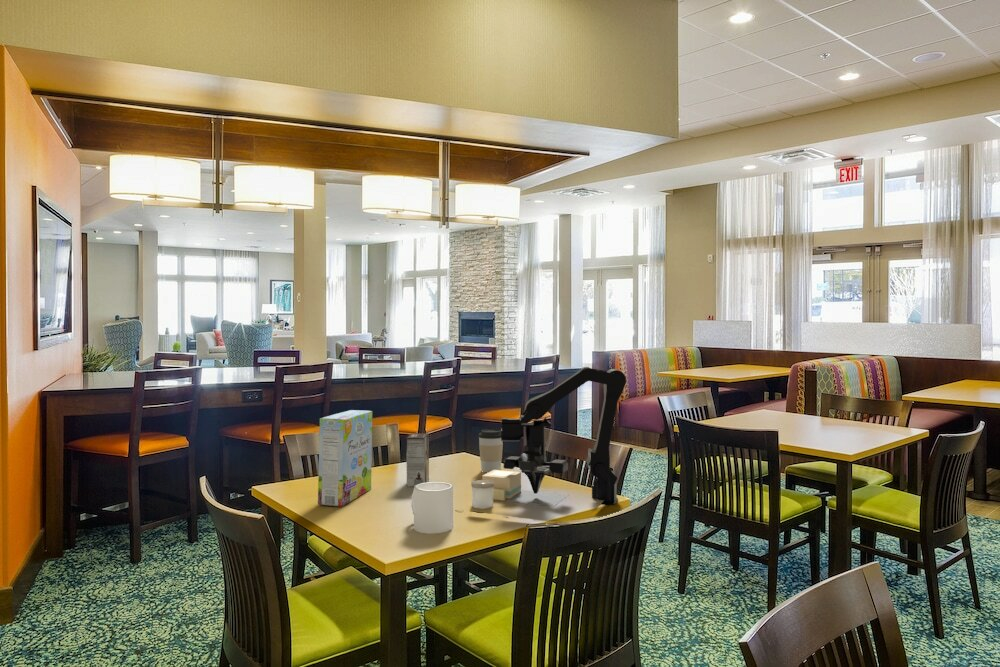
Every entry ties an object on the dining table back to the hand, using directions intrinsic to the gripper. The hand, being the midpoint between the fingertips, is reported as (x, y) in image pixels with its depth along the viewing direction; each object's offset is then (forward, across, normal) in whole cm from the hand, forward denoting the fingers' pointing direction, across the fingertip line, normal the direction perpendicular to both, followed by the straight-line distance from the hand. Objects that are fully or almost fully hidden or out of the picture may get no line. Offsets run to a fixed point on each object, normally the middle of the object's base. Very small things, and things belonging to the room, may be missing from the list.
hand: (535, 493), depth 196 cm
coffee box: (+2, -44, +6) cm, 44 cm away
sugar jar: (+2, -11, -14) cm, 18 cm away
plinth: (+2, -4, 0) cm, 5 cm away
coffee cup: (+3, -29, +32) cm, 43 cm away
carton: (+1, -11, 0) cm, 11 cm away
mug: (+2, -17, -33) cm, 37 cm away
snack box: (+2, -55, -18) cm, 58 cm away
